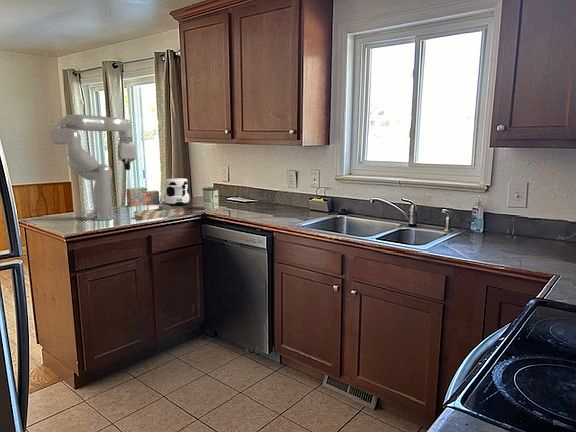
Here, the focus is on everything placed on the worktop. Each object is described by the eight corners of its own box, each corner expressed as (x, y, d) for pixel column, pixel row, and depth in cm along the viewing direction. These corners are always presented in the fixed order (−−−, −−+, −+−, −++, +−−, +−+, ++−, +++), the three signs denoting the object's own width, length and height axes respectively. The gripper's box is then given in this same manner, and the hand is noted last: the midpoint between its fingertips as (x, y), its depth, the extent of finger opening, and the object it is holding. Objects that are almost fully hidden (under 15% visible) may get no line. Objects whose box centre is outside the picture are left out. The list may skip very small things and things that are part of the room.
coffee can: (205, 207, 298) (205, 187, 295) (220, 208, 297) (220, 187, 294) (201, 210, 288) (200, 188, 285) (216, 210, 287) (216, 189, 284)
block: (163, 213, 264) (163, 206, 263) (158, 212, 268) (158, 205, 267) (170, 212, 268) (170, 205, 267) (166, 211, 271) (165, 204, 270)
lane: (142, 220, 252) (142, 213, 251) (134, 218, 258) (134, 211, 258) (184, 214, 272) (183, 208, 271) (175, 212, 278) (175, 206, 278)
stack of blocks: (155, 203, 318) (155, 186, 316) (159, 204, 313) (159, 187, 311) (127, 206, 303) (125, 188, 301) (130, 207, 299) (129, 189, 297)
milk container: (176, 202, 323) (175, 177, 319) (194, 203, 315) (193, 178, 312) (159, 205, 307) (158, 179, 304) (178, 207, 300) (177, 180, 296)
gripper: (116, 140, 260) (118, 170, 264) (140, 140, 271) (141, 169, 274) (111, 139, 266) (113, 170, 269) (134, 139, 276) (135, 169, 280)
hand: (127, 169), depth 272 cm, fingers closed
